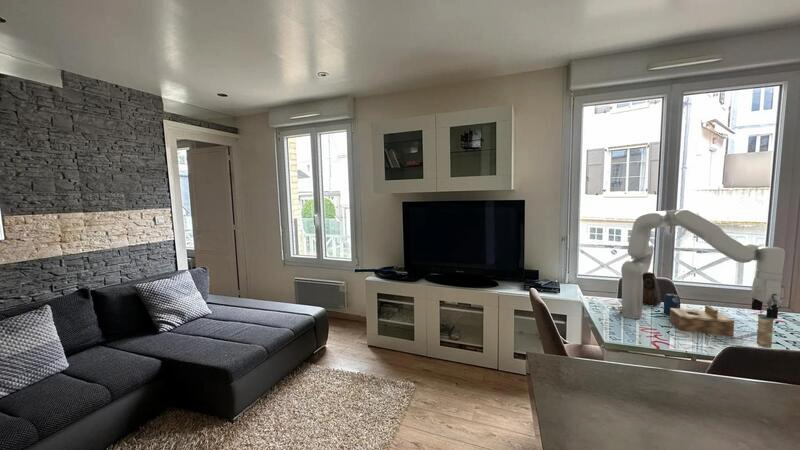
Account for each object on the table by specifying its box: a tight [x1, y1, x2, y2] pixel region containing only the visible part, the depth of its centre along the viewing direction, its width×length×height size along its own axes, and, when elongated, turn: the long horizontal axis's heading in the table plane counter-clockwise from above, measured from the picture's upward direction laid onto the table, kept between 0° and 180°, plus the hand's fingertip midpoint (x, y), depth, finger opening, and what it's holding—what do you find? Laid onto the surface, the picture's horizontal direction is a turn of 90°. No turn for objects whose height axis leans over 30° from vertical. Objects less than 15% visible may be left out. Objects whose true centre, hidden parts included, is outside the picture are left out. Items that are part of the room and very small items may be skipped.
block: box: [756, 313, 775, 349], centre depth 139 cm, size 4×4×14 cm
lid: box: [670, 305, 735, 324], centre depth 158 cm, size 20×12×4 cm, turn 68°
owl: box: [642, 270, 662, 307], centre depth 199 cm, size 13×13×20 cm
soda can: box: [663, 292, 681, 316], centre depth 177 cm, size 7×7×12 cm
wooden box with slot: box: [669, 310, 735, 337], centre depth 158 cm, size 20×12×7 cm, turn 68°
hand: (763, 313), depth 139 cm, fingers open, 9 cm apart
